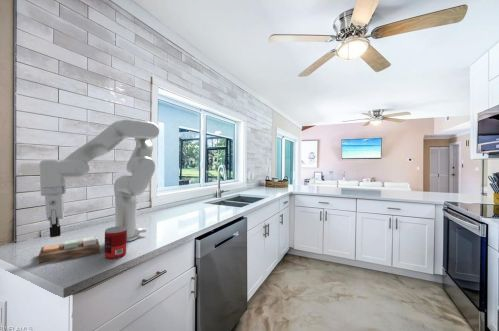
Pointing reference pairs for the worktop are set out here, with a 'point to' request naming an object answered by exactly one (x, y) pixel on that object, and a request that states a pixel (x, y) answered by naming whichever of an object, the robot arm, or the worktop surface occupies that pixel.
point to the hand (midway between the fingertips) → (55, 236)
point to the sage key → (71, 244)
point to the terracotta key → (51, 248)
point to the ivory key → (89, 241)
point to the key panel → (68, 252)
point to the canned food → (115, 242)
